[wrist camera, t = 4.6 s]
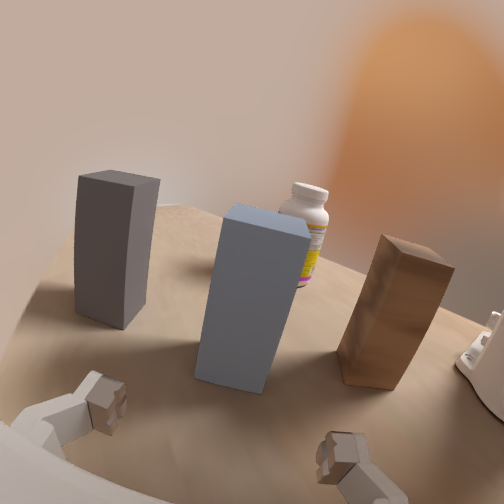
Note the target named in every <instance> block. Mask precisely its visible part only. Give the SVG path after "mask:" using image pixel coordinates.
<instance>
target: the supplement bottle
mask: <svg viewBox="0 0 504 504" xmlns="http://www.w3.org/2000/svg"><path fill="white" fill-rule="evenodd" d="M292 194H293V195H292V198H291V200H287V201H285V202H283V203H282V204H281V205H280V208H279V212H278V213H281V214H285V215H289V216H293V217H297V218H300V219H304V220H305V221H306V224H307V227H308V230H309V233H310V236H311V243H310V246H309V250H308V253H307V256H306V260H305V263H304V266H303V270H302V273H301V276H300V279H299V283H298V286H304V285H306V284H308V283H309V281H310V279H311V277H312V274H313V270H314V267H315V264H316V261H317V258H318V255H319V251H320V248H321V245H322V241H323V238H324V235H325V232H326V228H327V224H328V221H329V216H328V214H327V212H326V211H325V210H324V209H323V206H324V203H325V202H326V200H327V198H328V194H329V192H328V191H326V190H324V189H322V188H319V187H316V186H312V185H308V184H304V183H298V182H294V184H293V187H292ZM298 286H297V287H298Z"/></svg>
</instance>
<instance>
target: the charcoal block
mask: <svg viewBox="0 0 504 504" xmlns="http://www.w3.org/2000/svg"><path fill="white" fill-rule="evenodd" d="M159 185H160V179H157V178H152V177H146V176H141V175H135V174H131V173H125V172H120V171H114V170H107V171H102V172H96V173H91V174H85V175H81V176H79V178H78V188H77V200H76V215H75V237H74V285H75V308H76V313H78V314H81V315H83V316H86V317H88V318H91V319H94V320H96V321H99V322H102V323H104V324H107V325H110V326H113V327H115V328H118V329H121V330H124V329H125V328H126V327H127V326H128V324H129V323H130V322H131V321H132V319H133V318H134V317H135V316H136V315H137V313H138V312H139V311H140V310H141V308H142V307H143V306H144V305H145V302H146V290H147V278H148V268H149V258H150V250H151V241H152V233H153V225H154V218H155V211H156V204H157V198H158V191H159Z"/></svg>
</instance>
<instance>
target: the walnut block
mask: <svg viewBox="0 0 504 504" xmlns="http://www.w3.org/2000/svg"><path fill="white" fill-rule="evenodd" d="M454 269H455V268H454V267H453V266H451V265H450V264H449V263H448V262H446V261H445V260H444V259H443V258H441V257H440V256H439V255H437V254H436V253H435V252H433V251H432V250H431V249H429V248H427V247H424V246H421V245H417V244H414V243H411V242H407V241H404V240H401V239H398V238H394V237H391V236H388V235H385V234H381V237H380V240H379V243H378V246H377V249H376V252H375V255H374V258H373V261H372V264H371V266H370V269H369V272H368V275H367V277H366V280H365V283H364V285H363V288H362V291H361V293H360V296H359V298H358V301H357V303H356V306H355V308H354V311H353V313H352V316H351V318H350V321H349V323H348V325H347V328H346V330H345V333H344V335H343V337H342V340H341V342H340V344H339V346H338V349H337V354H338V358H339V363H340V367H341V372H342V376H343V381H344V384H347V385H354V386H362V387H370V388H379V389H388V390H394V389H395V387H396V386H397V384H398V382H399V381H400V379H401V377H402V376H403V374H404V372H405V371H406V369H407V367H408V365H409V364H410V362H411V360H412V358H413V356H414V355H415V353H416V351H417V349H418V347H419V345H420V344H421V342H422V340H423V338H424V336H425V334H426V332H427V330H428V328H429V326H430V324H431V322H432V320H433V318H434V316H435V313H436V311H437V309H438V307H439V305H440V303H441V300H442V298H443V296H444V293H445V291H446V289H447V286H448V284H449V282H450V279H451V277H452V274H453V272H454Z"/></svg>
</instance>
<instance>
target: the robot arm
mask: <svg viewBox="0 0 504 504" xmlns="http://www.w3.org/2000/svg"><path fill="white" fill-rule="evenodd" d="M486 327H487V328H489V329H490V330H492V333H488V332H484V331H483V332H482V333H481V334H480V335H479V336H478V337H477V338H476V340H475V341H474V342H473V343H472V344H471V345H470V346H469V348H468V349H467V350H466V351H465V352H464V353H463V354H462V355H461V356H460V358H459V359H458V360H457V362H456V366H457V367H458V369H459V370H460V371H461V372H462V373H463V374H464V375H465V376H466V377H467V378H468V379H469V381H470V382H471V384H472V385H473V387H474V389H475V391H476V393H477V394H478V396H479V397H480V399H481V400H482V401H483V403H484V404H485V405H486V406H487V407H488V408H489V409H490V410H491V411H492V412H493V413H494V414H495V415H496V416H497V417H498V418H500V419H501V420H502V421H504V310H503V312H502V314H499V313H497V312H492V314H491V316H490V318H489V320H488V322H487V324H486ZM126 390H127V388H126V384H125V383H122V382H120V381H117V380H115V379H112V378H110V377H108V376H105V375H103V374H100V373H98V372H96V371H93V370H92V371H91V372H89V373H88V375H87V376H86V377H85V379H84V380H83V381H82V383H81V384H80V385H79V386H78V388H77V389H76V390H75V392H74V393H73V394H71V393H68V394H65V395H62V396H59V397H57V398H54V399H51V400H48V401H45V402H41V403H38V404H35V405H32V406H29V407H26V408H24V409H23V410H22V412H21V413H20V414H19V415H18V417H17V418H16V419H15V420H14V421H13V423H12V424H11V425H10V426H8V425H6V424H5V423H3V422H2V421H1V420H0V504H174V503H171V502H167V501H164V500H161V499H157V498H154V497H151V496H148V495H145V494H142V493H139V492H137V491H134V490H131V489H128V488H126V487H123V486H121V485H118V484H116V483H113V482H111V481H108V480H106V479H104V478H101V477H99V476H97V475H94V474H92V473H90V472H88V471H86V470H84V469H82V468H80V467H78V466H75V465H73V464H72V463H70V462H68V461H66V457H65V455H64V453H63V450H62V448H61V447H62V446H64V445H66V444H68V443H70V442H71V441H73V440H75V439H77V438H79V437H81V436H83V435H85V434H86V433H88V432H90V431H92V430H93V429H94V430H97V431H99V432H102V433H104V434H107V435H110V436H112V435H113V433H114V431H115V429H116V428H117V426H118V422H117V419H120V418H122V416H123V415H124V413H125V410H126V407H127V397H126V395H125V392H126ZM316 463H317V464H318V465H319V466H320V467H319V469H318V470H317V484H329V485H337V488H338V489H339V490H340V492H341V493H342V495H343V496H344V498H345V499H346V500H347V502H348V503H349V504H409V502H408V498H407V495H406V494H405V493H404V492H403V491H402V490H401V489H400V488H399V487H398V486H397V485H396V484H395V483H394V482H393V481H391V480H390V479H389V478H388V477H387V476H386V475H385V474H384V473H383V472H382V471H381V470H380V469H379V467H378V466H377V465H376V464H375V463H371V459H370V454H369V450H368V445H367V441H366V436H365V435H364V434H362V433H350V432H336V431H329V432H328V433H327V434H326V436H325V441H323V442H321V443H320V445H319V447H318V450H317V453H316Z"/></svg>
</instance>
